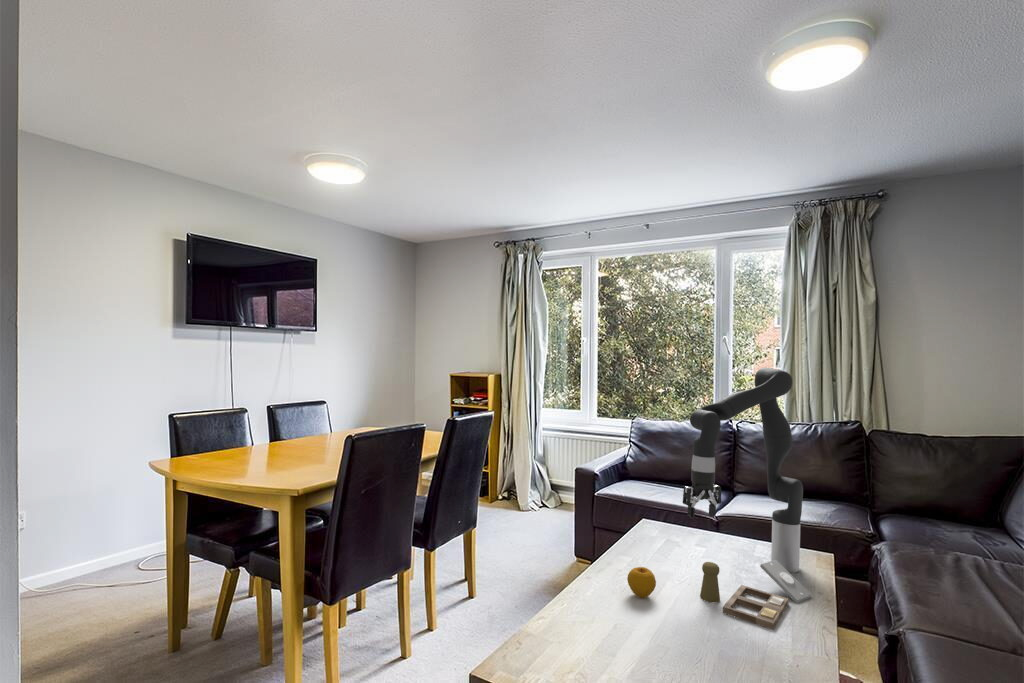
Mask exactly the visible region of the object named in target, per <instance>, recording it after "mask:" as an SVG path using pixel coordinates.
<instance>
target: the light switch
mask: <svg viewBox="0 0 1024 683" xmlns="http://www.w3.org/2000/svg"><path fill="white" fill-rule="evenodd" d="M759 567H760V569H762V570H763V572H765V573H766V575H768V576H769V578H771V579H772V581H773V582H775V583H776V584H777V585H778V586H779V588H780V589H782V590H783V592H784V593H786V595H787V596H789V598H790V599H791V600H792V601H793V602H794V603H796V604H797V602H798V603H800V602H803V601H806V600H808V599H810V597H811V598H812V597H813V594H812V593H811V592H810V591H809V590H808V589H807V588H806V587H805V586H804V585H803V584H801V582H800V581H798V580H797V579H796V578H795V576H793V574H792V573H789V572H788V571H787V570H786V569H785V568H784V567H783V566H782V565H781V564H780V563H779V562H778V561H777V560H773V561H771V560H770V561H766V562H763V563H761V564H760V565H759ZM805 599H806V600H805Z"/></svg>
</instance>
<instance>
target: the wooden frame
mask: <svg viewBox="0 0 1024 683" xmlns="http://www.w3.org/2000/svg"><path fill="white" fill-rule="evenodd" d="M746 594H747V595H751V596H754V597H757V598H760V599H764V600H767V601H766V602H761V601H758V600H755V599H751V598H747V597H746V596H745V595H746ZM736 604H737V605H738V606H742V607H744V608H748V609H751V610H754V611H758V614H757V615H755V614H753V613H749V612H746V611H743V610H739V609H736V606H737V605H736ZM788 605H789V598H788V597H783V596H781V595H777V594H773V593H770V592H767V591H763V590H761V589H757V588H754V587H751V586H746V585H743V584H741V585H740V586H739V587H738V588H737V589H736V590H735V592H734V593H733V594H732V595H731V596H730V598H729V599H728V600H727V601H726V603H724V604H723V606H722V614H725V613H726V614H725V615H728V614H729V615H728V616H731V615H732V616H731V617H734V616H735V618H738V619H740V620H743V621H746V622H749V623H752V624H755V625H758V626H761V627H764V628H768V629H771V630H774V629H775V628H776V626H777V624H778V623H779V621H780V619H781V618H780V617H782V616H783V614H784V613H783V612H785V611H786V610H787V608H788ZM786 607H787V608H786Z"/></svg>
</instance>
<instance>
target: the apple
mask: <svg viewBox="0 0 1024 683" xmlns="http://www.w3.org/2000/svg"><path fill="white" fill-rule="evenodd" d="M626 579H627V585H628V586H629V588H630V590H631V591H632V593H633V595H635V596H636V597H638V599H642V598H643V599H646V598H648V597H649V596H650V595H651V594H652V593H653V592H654V590H655V588H656V585H657V580H656V577H655V574H654V573H653V572H652V570H650V569H649V568H648V567H645V566H637V567H634V568H633V567H632V569H631V570H630V571H629V572H628V574H627V578H626Z"/></svg>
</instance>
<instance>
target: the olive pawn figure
mask: <svg viewBox="0 0 1024 683" xmlns="http://www.w3.org/2000/svg"><path fill="white" fill-rule="evenodd" d="M701 570H702V572H703V575H702V582H701V588H700V594H699V597H701V598H700V599H701V600H702V599H703V600H702V601H704V600H705V602H707V601H708V602H707V603H711V602H717V603H719V602H720V601H721V596H720V588H719V587H720V586H719V578H718V576H719V574H720V567H719V565H718V564H717V563H715V562H713V561H712V562H711V561H706V562H703V564H702V565H701Z"/></svg>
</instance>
